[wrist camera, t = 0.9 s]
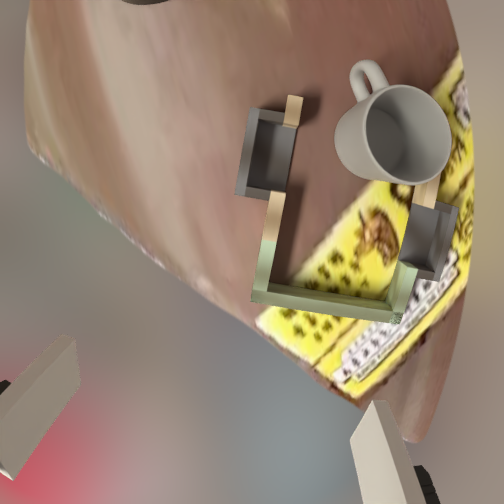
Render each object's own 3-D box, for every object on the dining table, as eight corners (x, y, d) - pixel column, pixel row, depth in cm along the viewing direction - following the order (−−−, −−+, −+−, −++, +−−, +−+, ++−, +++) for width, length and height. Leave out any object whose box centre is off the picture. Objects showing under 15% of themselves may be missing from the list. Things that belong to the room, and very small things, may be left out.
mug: (413, 166, 32) (464, 169, 22) (349, 189, 34) (383, 200, 23) (375, 70, 30) (414, 38, 19) (309, 89, 31) (326, 58, 20)
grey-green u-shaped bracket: (254, 95, 31) (253, 88, 29) (456, 149, 31) (469, 149, 28) (222, 285, 37) (218, 295, 34) (413, 316, 37) (422, 326, 34)
